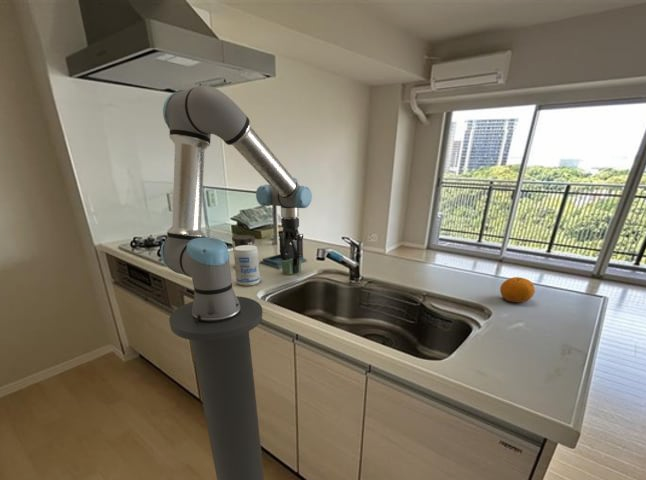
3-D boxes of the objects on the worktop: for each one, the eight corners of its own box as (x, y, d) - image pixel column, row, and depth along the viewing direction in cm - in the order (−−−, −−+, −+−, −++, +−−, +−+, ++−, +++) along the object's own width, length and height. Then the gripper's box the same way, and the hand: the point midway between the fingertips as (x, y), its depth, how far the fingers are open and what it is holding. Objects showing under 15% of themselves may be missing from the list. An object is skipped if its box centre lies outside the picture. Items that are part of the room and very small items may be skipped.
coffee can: (261, 266, 162) (258, 236, 156) (243, 270, 155) (240, 240, 149) (247, 262, 168) (245, 233, 162) (230, 266, 161) (227, 237, 155)
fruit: (491, 297, 123) (496, 276, 119) (513, 293, 126) (518, 272, 122) (515, 307, 114) (521, 285, 110) (538, 303, 117) (545, 281, 113)
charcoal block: (288, 260, 166) (285, 251, 163) (281, 258, 169) (279, 249, 166) (298, 254, 170) (296, 245, 167) (291, 253, 173) (289, 244, 170)
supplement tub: (242, 288, 134) (238, 251, 128) (233, 281, 141) (229, 247, 135) (264, 283, 139) (261, 248, 133) (254, 277, 146) (251, 243, 140)
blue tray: (279, 268, 157) (278, 263, 156) (260, 263, 166) (260, 258, 165) (306, 260, 169) (306, 256, 167) (287, 256, 177) (287, 251, 176)
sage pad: (289, 274, 148) (289, 263, 146) (282, 272, 151) (281, 261, 149) (301, 270, 152) (300, 260, 150) (293, 268, 155) (293, 258, 153)
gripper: (311, 218, 138) (311, 273, 148) (282, 214, 150) (284, 265, 160) (298, 221, 133) (299, 277, 143) (269, 216, 145) (272, 268, 155)
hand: (291, 270), depth 151 cm, fingers closed on sage pad, 5 cm apart
